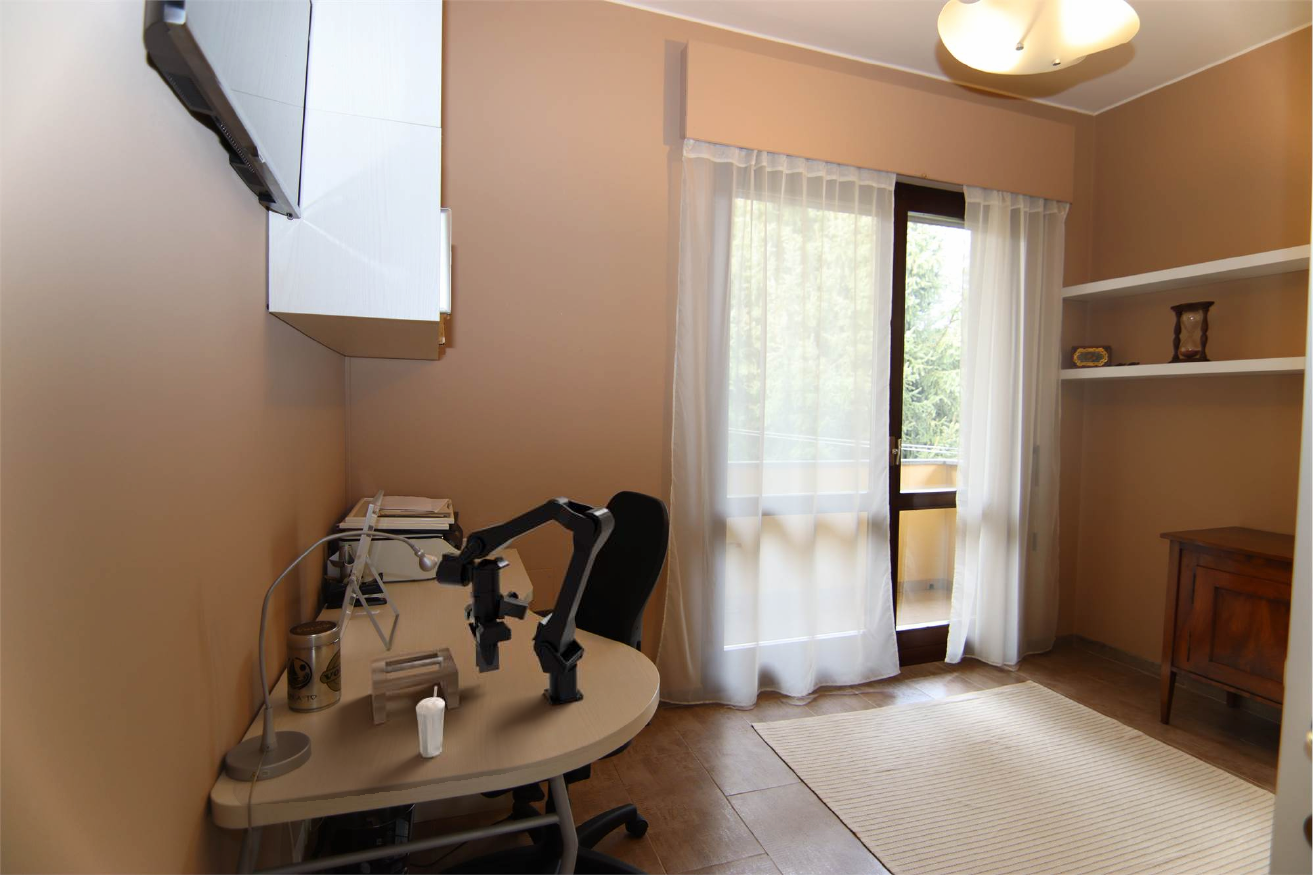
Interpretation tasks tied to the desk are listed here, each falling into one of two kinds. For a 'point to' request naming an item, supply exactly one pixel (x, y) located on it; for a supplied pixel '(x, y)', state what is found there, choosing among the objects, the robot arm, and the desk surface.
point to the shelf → (413, 677)
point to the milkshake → (430, 725)
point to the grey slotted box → (481, 662)
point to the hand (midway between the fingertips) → (487, 661)
